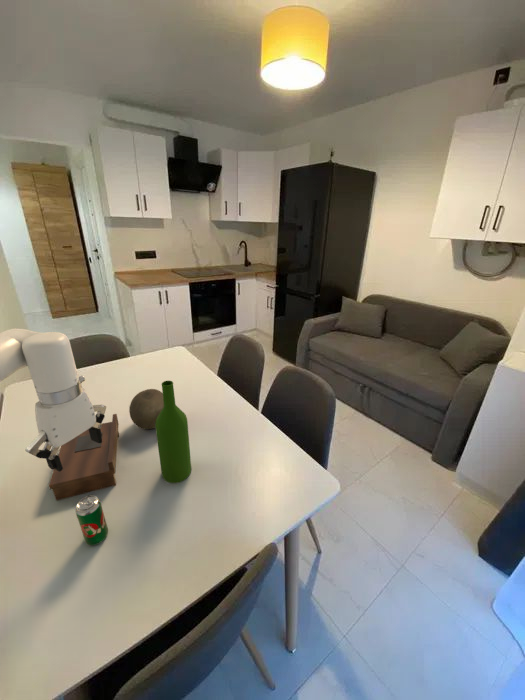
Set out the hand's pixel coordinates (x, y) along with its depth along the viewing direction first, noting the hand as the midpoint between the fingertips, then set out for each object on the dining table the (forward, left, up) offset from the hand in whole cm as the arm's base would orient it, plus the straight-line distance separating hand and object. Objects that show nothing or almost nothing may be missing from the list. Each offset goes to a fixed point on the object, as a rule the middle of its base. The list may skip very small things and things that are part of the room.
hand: (78, 454), depth 67 cm
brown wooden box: (-3, +22, -22) cm, 31 cm away
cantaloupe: (+16, +35, -23) cm, 44 cm away
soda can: (+1, -5, -23) cm, 23 cm away
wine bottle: (+22, +9, -23) cm, 32 cm away
